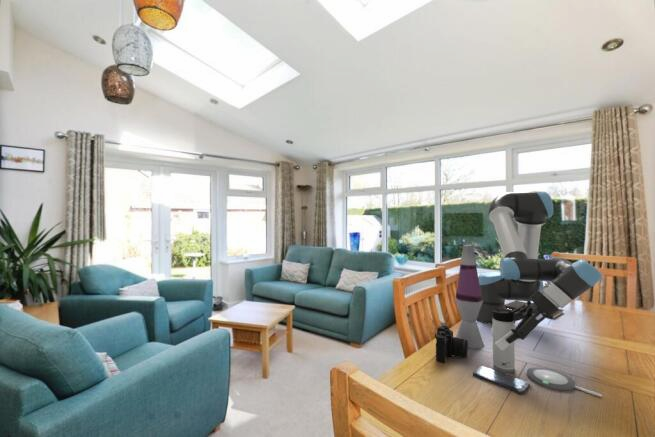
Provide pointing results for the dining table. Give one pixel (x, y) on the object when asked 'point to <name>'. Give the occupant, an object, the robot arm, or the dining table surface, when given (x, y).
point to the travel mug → (501, 327)
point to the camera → (449, 345)
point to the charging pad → (554, 380)
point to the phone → (502, 380)
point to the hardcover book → (517, 304)
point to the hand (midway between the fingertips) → (496, 338)
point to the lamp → (469, 299)
